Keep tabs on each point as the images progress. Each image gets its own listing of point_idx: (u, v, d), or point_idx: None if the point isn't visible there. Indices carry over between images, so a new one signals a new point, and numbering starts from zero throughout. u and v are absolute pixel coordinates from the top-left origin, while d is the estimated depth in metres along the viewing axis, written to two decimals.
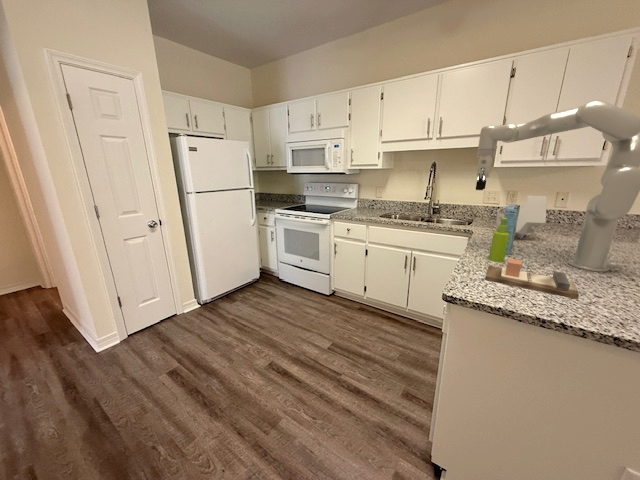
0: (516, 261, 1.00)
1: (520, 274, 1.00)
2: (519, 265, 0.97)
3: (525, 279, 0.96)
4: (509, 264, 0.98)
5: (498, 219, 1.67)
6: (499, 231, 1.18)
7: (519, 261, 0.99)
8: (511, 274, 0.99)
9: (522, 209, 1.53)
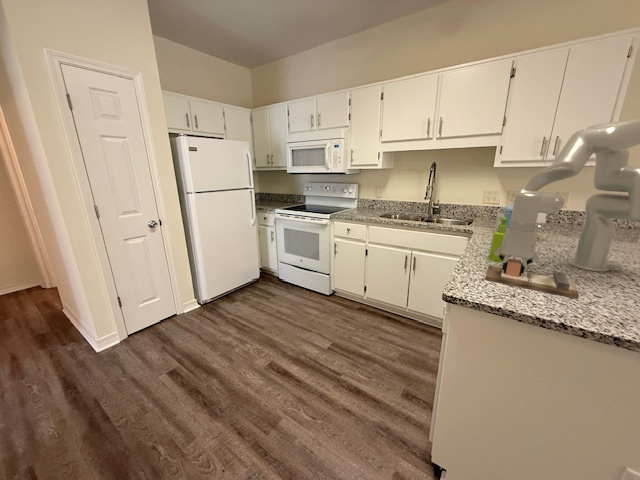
0: (516, 261, 1.00)
1: None
2: (519, 265, 0.97)
3: (525, 279, 0.96)
4: (509, 264, 0.98)
5: (498, 219, 1.67)
6: (499, 231, 1.18)
7: (519, 261, 0.99)
8: (511, 274, 0.99)
9: None
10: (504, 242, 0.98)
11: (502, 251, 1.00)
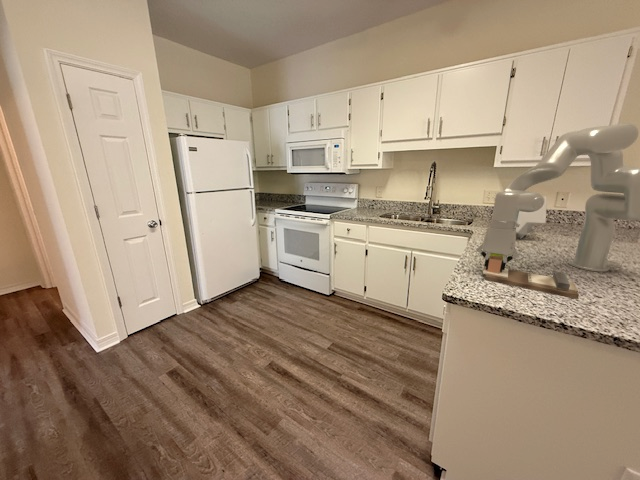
0: (498, 258, 1.03)
1: None
2: (500, 262, 1.00)
3: (505, 275, 0.99)
4: (490, 261, 1.02)
5: None
6: None
7: (500, 258, 1.03)
8: (492, 270, 1.02)
9: None
10: (485, 240, 1.02)
11: (484, 248, 1.03)
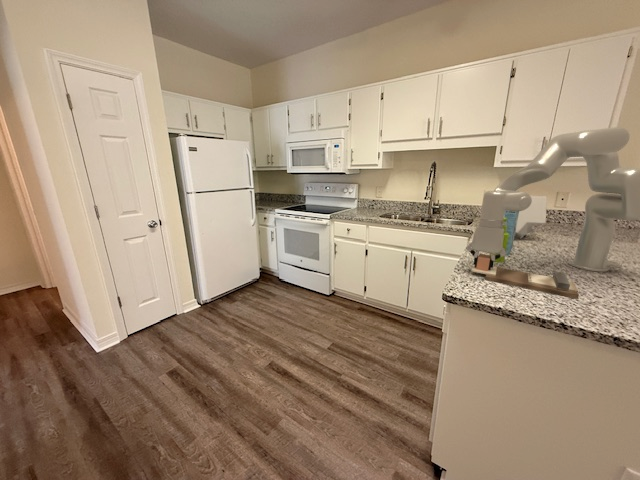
0: (486, 256, 1.05)
1: None
2: (488, 260, 1.02)
3: (493, 273, 1.01)
4: (479, 259, 1.04)
5: None
6: None
7: (489, 256, 1.05)
8: (481, 268, 1.04)
9: None
10: (474, 238, 1.04)
11: (473, 247, 1.05)
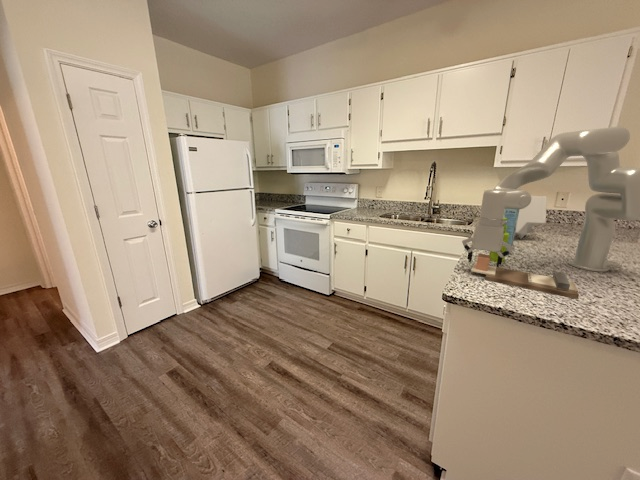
0: (486, 256, 1.05)
1: (489, 268, 1.06)
2: (487, 260, 1.02)
3: (493, 273, 1.01)
4: (478, 259, 1.04)
5: None
6: None
7: (488, 256, 1.05)
8: (480, 268, 1.04)
9: (522, 209, 1.53)
10: (474, 237, 1.04)
11: (473, 245, 1.05)
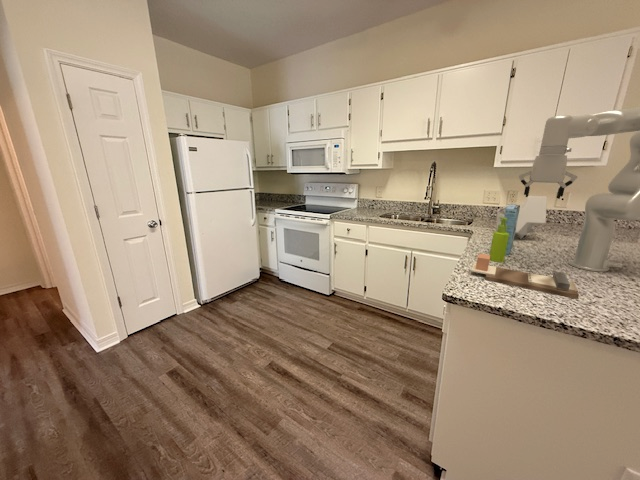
0: (486, 256, 1.05)
1: (489, 268, 1.06)
2: (487, 260, 1.02)
3: (493, 273, 1.01)
4: (478, 259, 1.04)
5: (498, 219, 1.67)
6: (499, 231, 1.18)
7: (488, 256, 1.05)
8: (480, 268, 1.04)
9: (522, 209, 1.53)
10: (534, 168, 1.01)
11: (532, 178, 1.02)
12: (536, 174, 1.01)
